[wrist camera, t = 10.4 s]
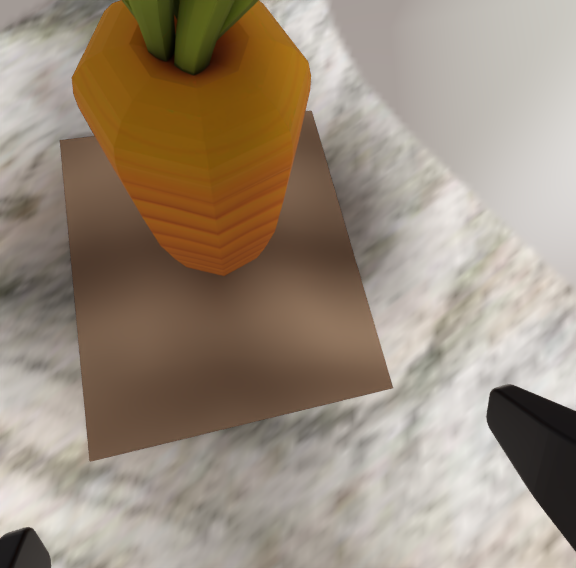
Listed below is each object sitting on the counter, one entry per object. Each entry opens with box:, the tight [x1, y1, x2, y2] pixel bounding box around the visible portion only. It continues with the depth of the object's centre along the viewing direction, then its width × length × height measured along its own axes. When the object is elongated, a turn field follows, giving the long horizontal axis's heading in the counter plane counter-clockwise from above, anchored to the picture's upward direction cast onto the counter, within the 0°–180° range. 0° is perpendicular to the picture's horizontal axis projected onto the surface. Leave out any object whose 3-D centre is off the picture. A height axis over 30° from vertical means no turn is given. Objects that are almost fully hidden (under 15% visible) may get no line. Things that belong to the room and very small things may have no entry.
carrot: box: [72, 0, 311, 276], centre depth 12 cm, size 5×5×15 cm
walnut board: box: [60, 111, 393, 462], centre depth 19 cm, size 14×12×1 cm
